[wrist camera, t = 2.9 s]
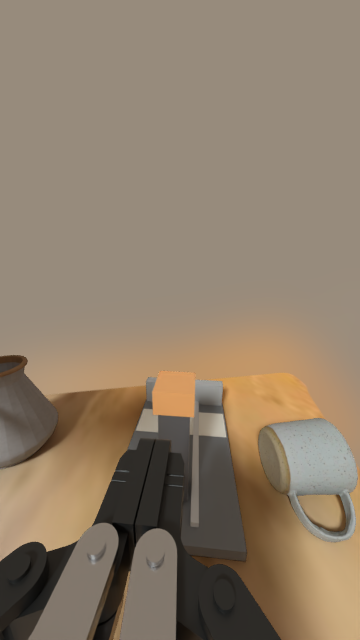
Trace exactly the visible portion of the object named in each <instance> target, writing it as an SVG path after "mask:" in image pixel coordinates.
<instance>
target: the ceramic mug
mask: <svg viewBox="0 0 360 640" xmlns="http://www.w3.org/2000/svg"><path fill="white" fill-rule="evenodd" d="M258 446H259V453H260V458H261V462H262V466H263V468H264V471H265V474H266V476H267V478H268V480H269V481H270V483H271V485H272V486H273V487H274V488H275V489H276V490H277V491H278V492H280V493H283V494H287V495H288V496H289V498H290V501H291V505H292V507H293V509H294V511H295V513H296V515H297V516H298V518H299V520H300V521H301V523H302V524H303V525H304V527H305V528H306V529H307V530H308V531H309V532H311V533H312V534H313V535H315V536H316V537H318V538H320V539H322V540H324V541H327V542H339V541H343V540H347V539H349V538H351V536H352V535H353V533H354V531H355V525H356V516H355V510H354V506H353V503H352V500H351V497H350V494H349V493H351V492H352V491H353V490H354V489H355V487H356V485H357V480H358V476H357V468H356V463H355V460H354V457H353V454H352V452H351V450H350V448H349V446H348V444H347V442H346V440H345V438H344V437H343V436H342V434H341V433H340V432H339V431H338V430H337V428H336V427H335V426H334V425H333V424H331V423H330V422H328V421H327V420H325V419H321V418H314V419H308V420H300V421H291V422H283V423H275V424H271V425H268V426H265V427H264V428H262V430H261V431H260V434H259V439H258ZM314 494H316V495H317V494H318V495H320V494H321V495H334V494H337V495H339V496H340V497H341V500H342V503H343V506H344V510H345V515H346V526H345V529H344V530H343V531H341V532H332V531H327V530H325V529H324V528H322V527H318V526H316V525H314V524H313V523H312V522H311V521H310V520H309V518H308V517H307V516H306V515H305V513H304V511H303V509H302V507H301V505H300V503H299V500H298V498H297V496H303V495H314Z"/></svg>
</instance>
